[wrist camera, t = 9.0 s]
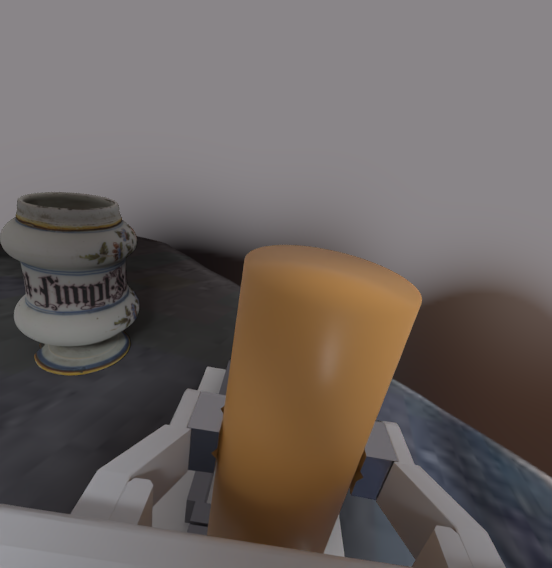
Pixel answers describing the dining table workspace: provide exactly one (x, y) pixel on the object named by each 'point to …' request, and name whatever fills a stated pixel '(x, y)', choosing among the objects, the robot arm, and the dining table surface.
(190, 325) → the dining table surface
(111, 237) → the apothecary jar
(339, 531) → the board
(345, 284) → the orange rounded cylinder
